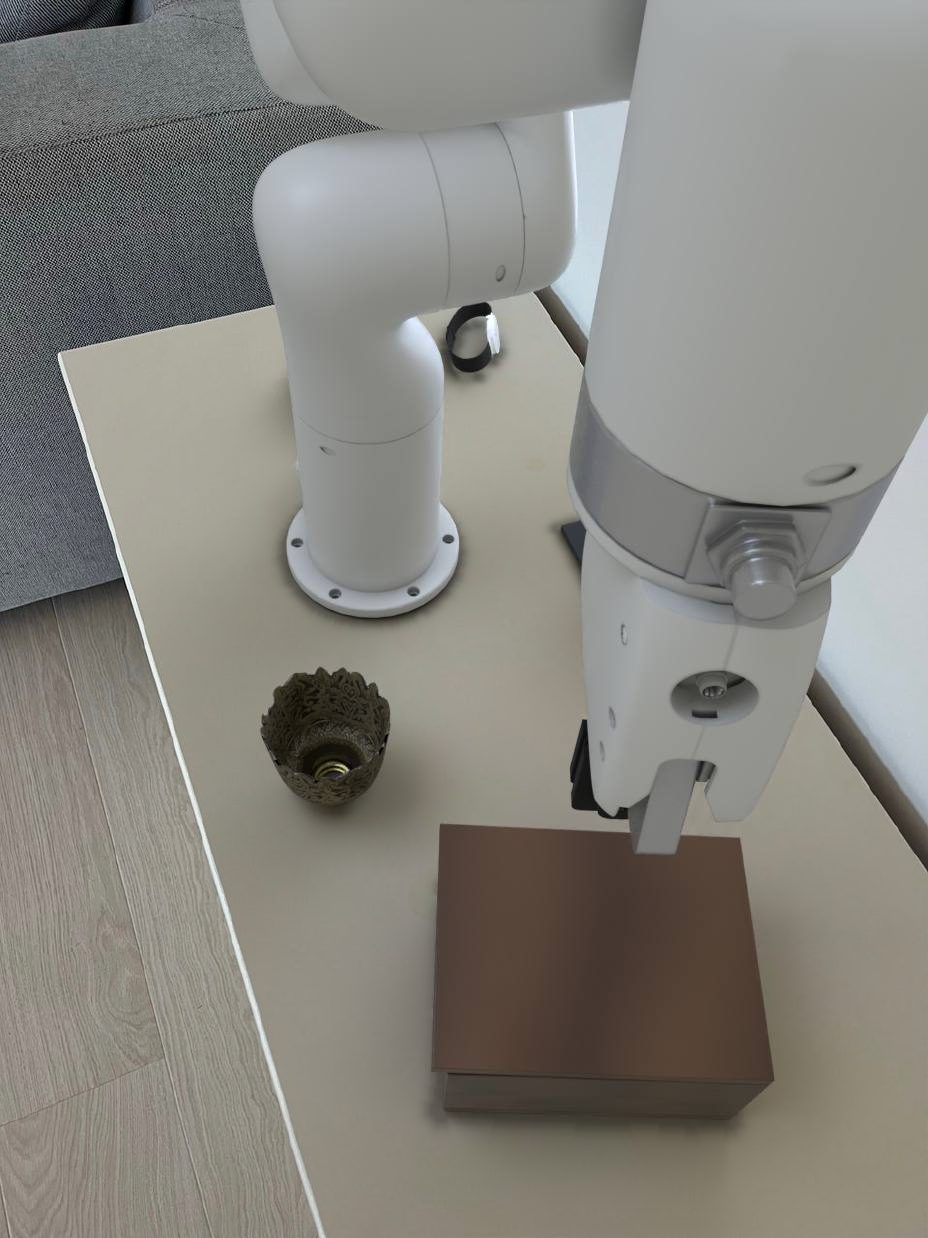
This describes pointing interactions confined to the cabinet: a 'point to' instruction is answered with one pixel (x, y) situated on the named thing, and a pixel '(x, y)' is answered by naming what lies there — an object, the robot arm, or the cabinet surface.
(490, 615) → the cabinet surface
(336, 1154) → the cabinet surface
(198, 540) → the cabinet surface
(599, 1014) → the lid
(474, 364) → the watch
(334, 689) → the cup
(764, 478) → the robot arm
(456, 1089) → the chest
